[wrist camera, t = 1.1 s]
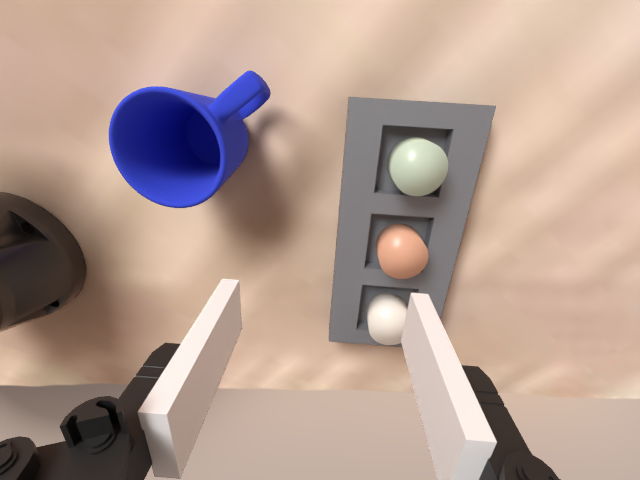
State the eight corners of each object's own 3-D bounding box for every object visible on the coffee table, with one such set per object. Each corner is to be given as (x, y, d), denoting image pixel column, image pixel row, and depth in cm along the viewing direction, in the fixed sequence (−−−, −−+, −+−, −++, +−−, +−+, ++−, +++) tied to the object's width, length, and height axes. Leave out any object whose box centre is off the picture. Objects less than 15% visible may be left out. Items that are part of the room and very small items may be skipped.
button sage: (383, 185, 29) (388, 194, 26) (390, 135, 27) (396, 139, 25) (431, 188, 29) (441, 198, 26) (442, 138, 27) (453, 143, 25)
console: (329, 324, 40) (328, 341, 37) (348, 97, 29) (349, 96, 26) (425, 332, 39) (432, 349, 37) (481, 105, 29) (496, 105, 26)
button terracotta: (372, 261, 32) (376, 277, 30) (378, 221, 31) (382, 234, 28) (416, 265, 32) (423, 280, 30) (424, 225, 31) (432, 237, 28)
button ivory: (364, 324, 36) (366, 343, 33) (368, 291, 34) (371, 308, 31) (403, 327, 36) (408, 346, 33) (410, 294, 34) (416, 312, 31)
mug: (307, 122, 30) (294, 133, 21) (215, 193, 33) (169, 228, 24) (251, 40, 28) (208, 12, 18) (157, 125, 31) (82, 137, 22)
